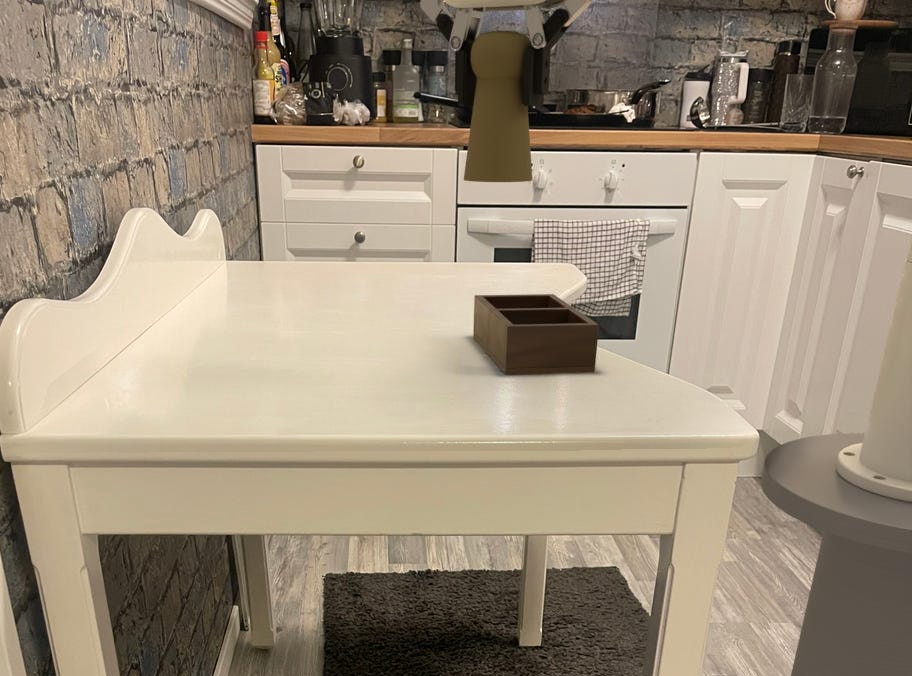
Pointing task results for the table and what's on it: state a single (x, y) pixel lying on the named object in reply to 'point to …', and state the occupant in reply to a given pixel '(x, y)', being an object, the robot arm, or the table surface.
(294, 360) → the table surface
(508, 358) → the divided wooden box
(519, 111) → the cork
